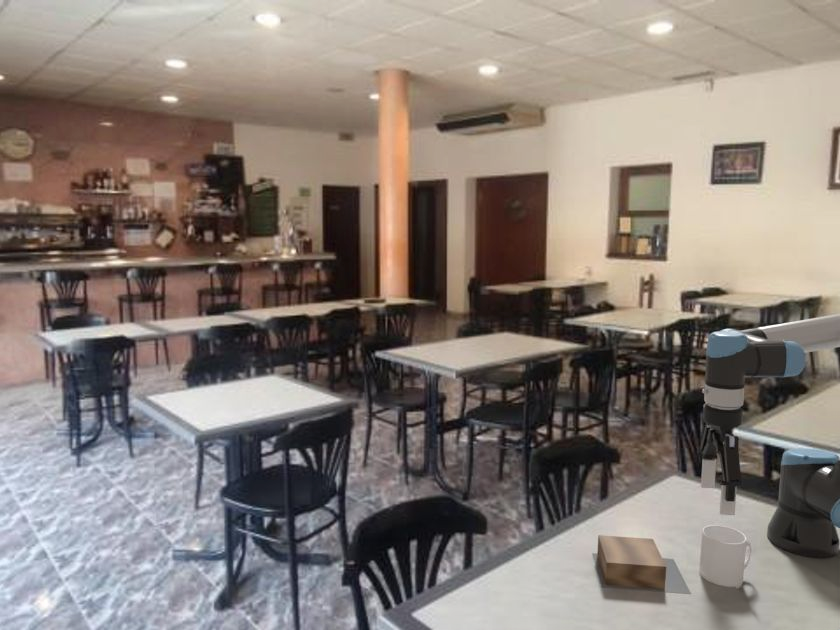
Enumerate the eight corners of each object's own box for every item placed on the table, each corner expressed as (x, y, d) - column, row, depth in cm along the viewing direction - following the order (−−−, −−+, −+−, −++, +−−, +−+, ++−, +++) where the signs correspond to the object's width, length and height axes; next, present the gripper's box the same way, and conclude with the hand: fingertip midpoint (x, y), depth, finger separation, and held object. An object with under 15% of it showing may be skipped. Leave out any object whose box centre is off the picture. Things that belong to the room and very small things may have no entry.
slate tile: (673, 563, 146) (673, 558, 145) (690, 599, 132) (691, 593, 132) (591, 558, 148) (592, 553, 148) (601, 592, 134) (601, 586, 134)
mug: (764, 585, 137) (769, 538, 136) (718, 594, 134) (722, 546, 132) (734, 565, 145) (738, 520, 144) (690, 573, 142) (693, 527, 140)
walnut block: (651, 559, 145) (652, 538, 144) (664, 589, 133) (666, 566, 133) (597, 555, 147) (598, 535, 146) (605, 584, 135) (606, 562, 134)
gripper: (688, 389, 148) (683, 476, 151) (722, 422, 124) (716, 525, 127) (722, 390, 147) (717, 478, 150) (764, 423, 123) (756, 528, 126)
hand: (716, 500), depth 138 cm, fingers open, 13 cm apart
